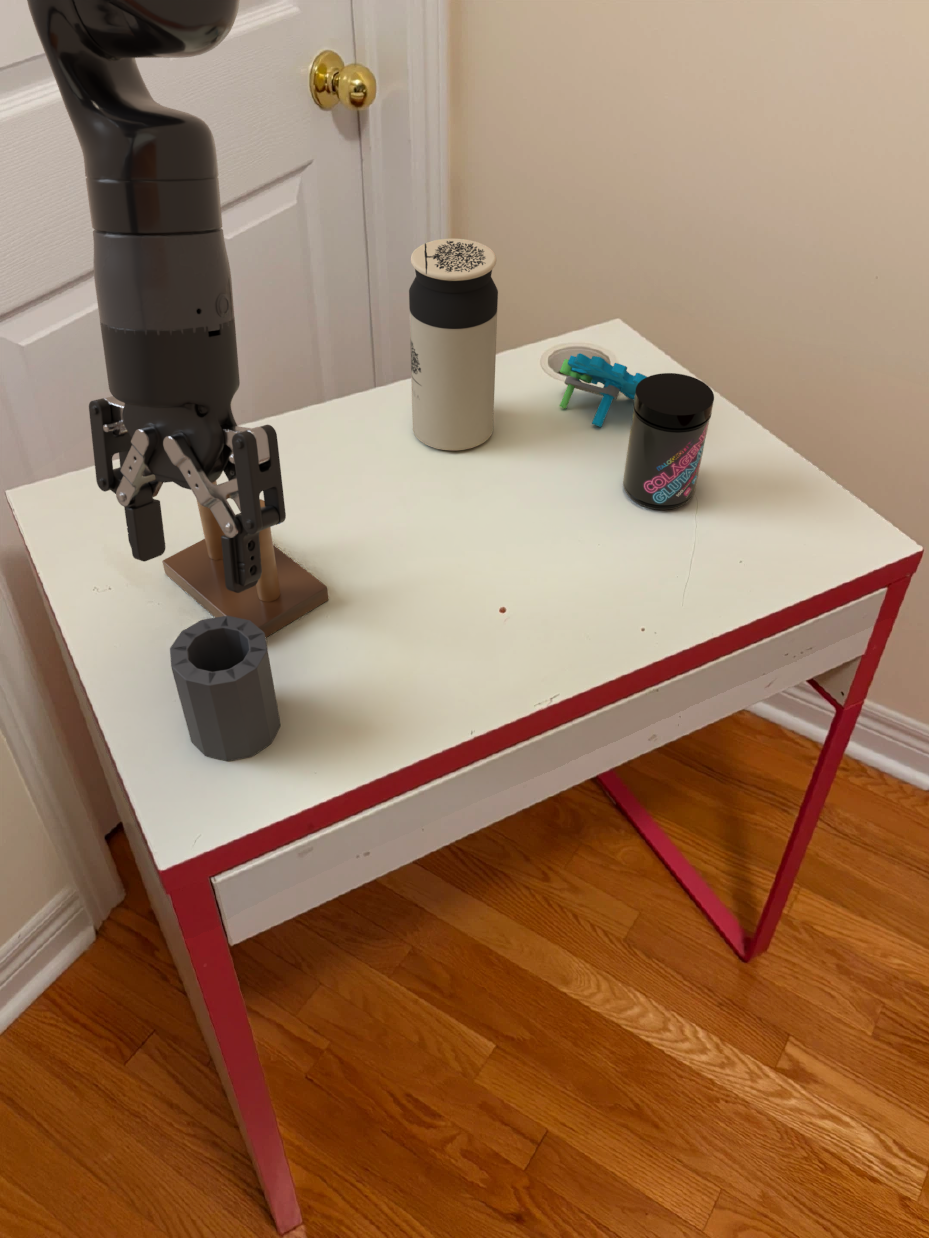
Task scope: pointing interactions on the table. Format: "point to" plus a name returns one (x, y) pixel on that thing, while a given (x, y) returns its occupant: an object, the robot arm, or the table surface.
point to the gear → (598, 372)
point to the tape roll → (226, 687)
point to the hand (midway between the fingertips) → (195, 572)
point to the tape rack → (265, 604)
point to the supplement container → (667, 440)
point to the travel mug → (453, 343)
